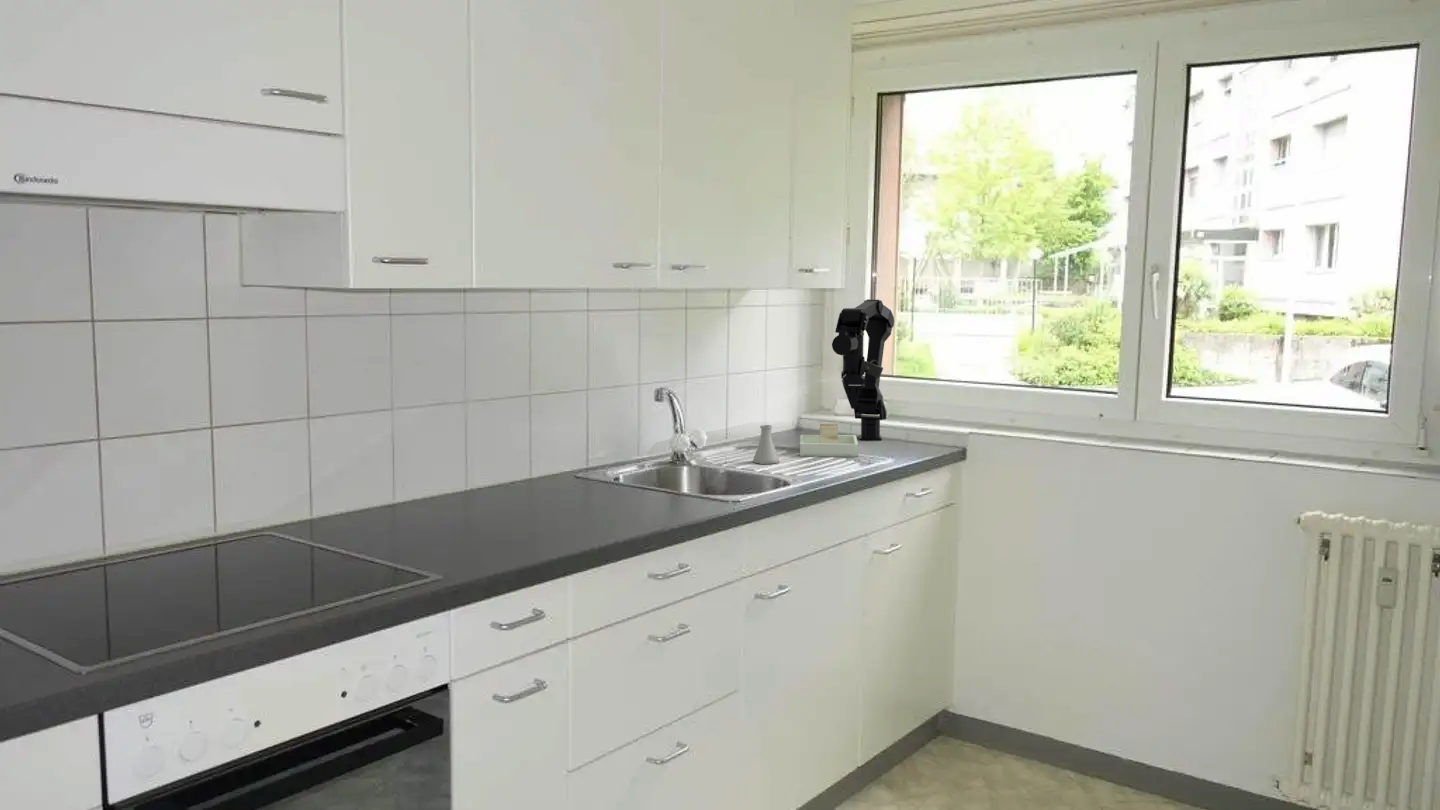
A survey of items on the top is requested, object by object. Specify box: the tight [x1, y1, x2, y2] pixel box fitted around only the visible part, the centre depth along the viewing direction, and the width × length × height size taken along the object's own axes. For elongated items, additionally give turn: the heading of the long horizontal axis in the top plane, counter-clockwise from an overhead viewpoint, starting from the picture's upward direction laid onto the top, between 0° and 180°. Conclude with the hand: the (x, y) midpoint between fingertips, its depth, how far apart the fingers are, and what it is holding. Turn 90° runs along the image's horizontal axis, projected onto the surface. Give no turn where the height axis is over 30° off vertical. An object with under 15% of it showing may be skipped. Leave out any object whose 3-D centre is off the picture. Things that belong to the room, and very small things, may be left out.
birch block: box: [819, 423, 839, 444], centre depth 318 cm, size 5×5×7 cm
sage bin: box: [799, 434, 859, 458], centre depth 319 cm, size 16×16×4 cm
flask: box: [752, 424, 781, 465], centre depth 303 cm, size 7×7×10 cm
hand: (852, 406), depth 324 cm, fingers open, 9 cm apart
